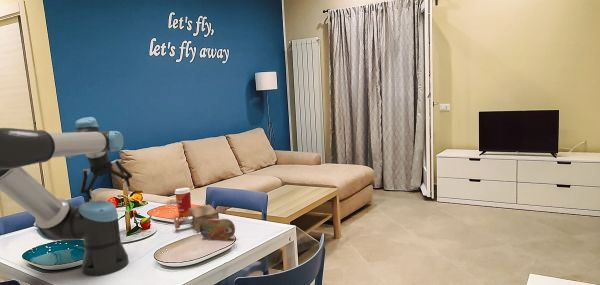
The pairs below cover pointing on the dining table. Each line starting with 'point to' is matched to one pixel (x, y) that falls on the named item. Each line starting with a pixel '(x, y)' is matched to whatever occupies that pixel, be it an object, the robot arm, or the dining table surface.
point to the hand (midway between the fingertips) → (112, 198)
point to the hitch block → (202, 215)
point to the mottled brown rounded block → (217, 229)
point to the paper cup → (183, 201)
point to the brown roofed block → (182, 221)
